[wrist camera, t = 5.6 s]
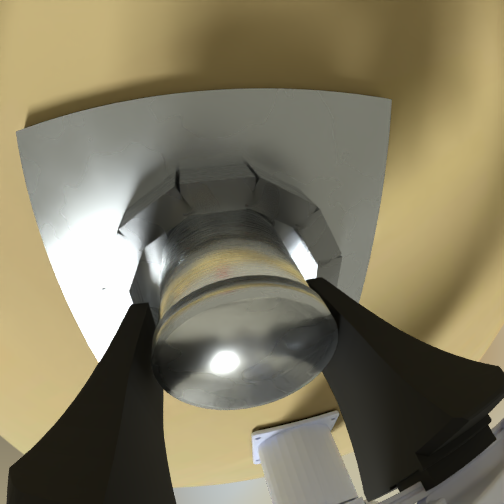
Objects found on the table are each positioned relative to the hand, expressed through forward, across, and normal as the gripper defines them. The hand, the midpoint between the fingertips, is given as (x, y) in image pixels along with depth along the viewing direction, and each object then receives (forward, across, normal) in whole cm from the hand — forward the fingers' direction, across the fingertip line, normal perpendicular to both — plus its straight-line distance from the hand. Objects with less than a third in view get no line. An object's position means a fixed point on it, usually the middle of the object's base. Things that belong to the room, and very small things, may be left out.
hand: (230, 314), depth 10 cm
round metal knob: (+2, 0, -1) cm, 2 cm away
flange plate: (+3, 0, 0) cm, 3 cm away
